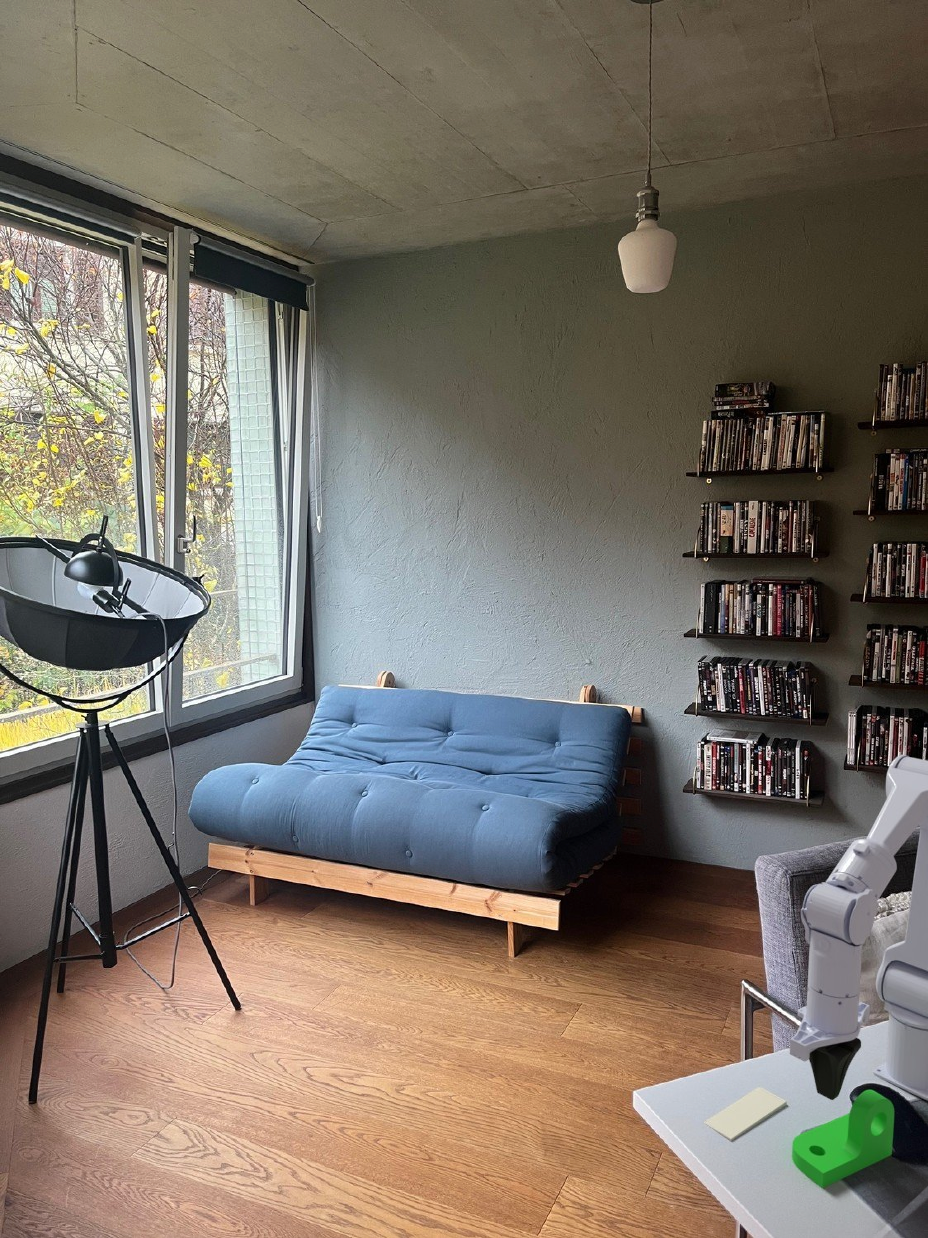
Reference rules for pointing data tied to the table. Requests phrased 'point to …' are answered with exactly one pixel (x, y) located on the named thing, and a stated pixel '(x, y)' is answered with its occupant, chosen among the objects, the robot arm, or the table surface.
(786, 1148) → the table surface
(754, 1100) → the plate
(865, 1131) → the mechanical part
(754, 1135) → the table surface
